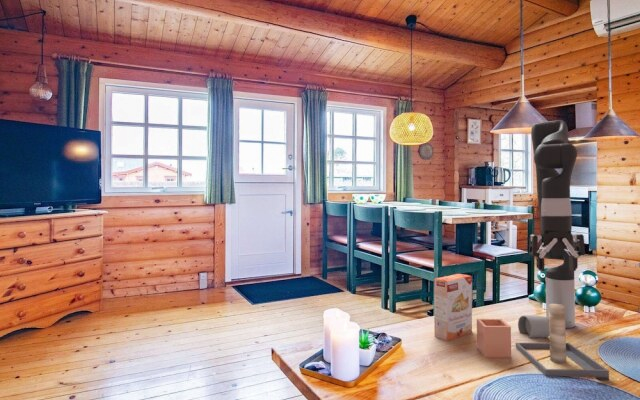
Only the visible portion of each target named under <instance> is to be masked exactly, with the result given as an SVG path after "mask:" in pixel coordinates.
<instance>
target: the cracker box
mask: <svg viewBox="0 0 640 400" xmlns="http://www.w3.org/2000/svg"><path fill="white" fill-rule="evenodd" d="M433 282H434V283H433V285H434V288H433V289H434V291H433V292H434V293H433V294H434V295H433V296H434V297H433V298H434V302H433V303H434V310H433V311H434V313H433V314H434V317H433V318H434V337H435V338H438V339H441V340H443V341H447V342H448V341H451V340H454V339H456V338H460V337H463V336H465V335H468V334H470V333H472V332H473V312H472V311H473V276H472V275H469V274H464V273H463V274H462V273H456V274H451V275H446V276H440V277H436V278H434V280H433Z"/></svg>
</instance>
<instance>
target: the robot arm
mask: <svg viewBox="0 0 640 400" xmlns="http://www.w3.org/2000/svg"><path fill="white" fill-rule="evenodd" d="M530 132H531V133H530V134H531V142H532V149H533V161H534V164H535V176H536V193H537V194H536V195H537V201H538V202H537V203H538V204H537V205H538V209H539V223H540V224H539V225H540V226H539V228H540V229H539V231H540V232H539V233H540V234H538V235H537V234H530V235H529V248H528V254H529V255H531V256H533V257H535V259H536V261H535V262H536V268H537V270H538V271H540V272H545V315H546V316H545V317H546V318H547V319H548V320H549V304H561V305H564V306H565V329H566V328H567V329H570V328H574V327H575V326H576V301H575V300H576V295H575V291H576V287H575V272H576V270H577V269H578V268H579V267H578V266H579V265H578V258H579V257H581V256H585V255H586V250H585V236H584V235H583V234H581V233H575V234H573V233H572V225H573V223H572V212H573V211H572V203H571V180H572V179H571V178H572V175H573V174H572V173H573V170H574V167H575V164H576V160H577V157H578V150H577V148H576V146H575V145H574V144H572V143H568V142H569V128H568V125H567V123H566V121H564V120H562V119H557V120H556V119H555V120H550V121H548V120H547V121H541V122H536V123H533V124H532V126H531V131H530ZM556 169H557V170H556ZM558 169H561V172H558ZM538 243H540V246H539V248H538ZM545 259H548V260H559V261H563V263H562V264H560V265H558V266H555V267H549V268H547V269H545Z"/></svg>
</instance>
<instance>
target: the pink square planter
mask: <svg viewBox="0 0 640 400" xmlns="http://www.w3.org/2000/svg"><path fill="white" fill-rule="evenodd" d="M476 348H477V349H478V350H479V352H480V353H481V354H482V355H483V357H484V358H512V327H511V325H510V324H508V323H507V322H506V321H505V320H503V319H502V318H476Z"/></svg>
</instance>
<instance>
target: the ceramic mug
mask: <svg viewBox="0 0 640 400" xmlns="http://www.w3.org/2000/svg"><path fill="white" fill-rule="evenodd" d="M517 328H518V331H519V333H520V334H528V335H529V337H528V338H529V339H533V338H534V339H535V338H542V339H546V338H548V337H549V338H550V331H549V320H548V319H547V318H546V316H543V315H529V314H527V315H525V314H523V315H521V316H520V317H519V318H518V321H517Z"/></svg>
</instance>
